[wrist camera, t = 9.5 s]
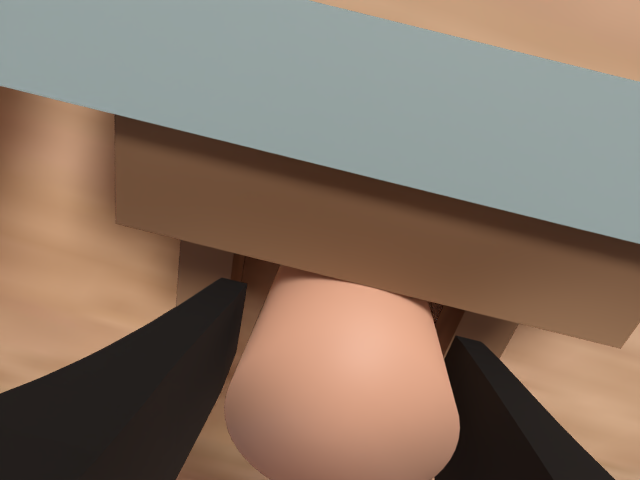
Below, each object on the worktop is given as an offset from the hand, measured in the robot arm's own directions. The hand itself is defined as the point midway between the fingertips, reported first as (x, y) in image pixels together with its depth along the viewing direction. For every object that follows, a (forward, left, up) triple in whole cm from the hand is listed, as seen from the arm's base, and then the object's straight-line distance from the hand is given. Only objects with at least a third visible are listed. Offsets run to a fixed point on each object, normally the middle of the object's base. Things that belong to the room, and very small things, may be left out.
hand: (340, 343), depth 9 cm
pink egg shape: (0, 0, -3) cm, 4 cm away
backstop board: (+5, +3, -3) cm, 6 cm away
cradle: (0, 0, -3) cm, 3 cm away
